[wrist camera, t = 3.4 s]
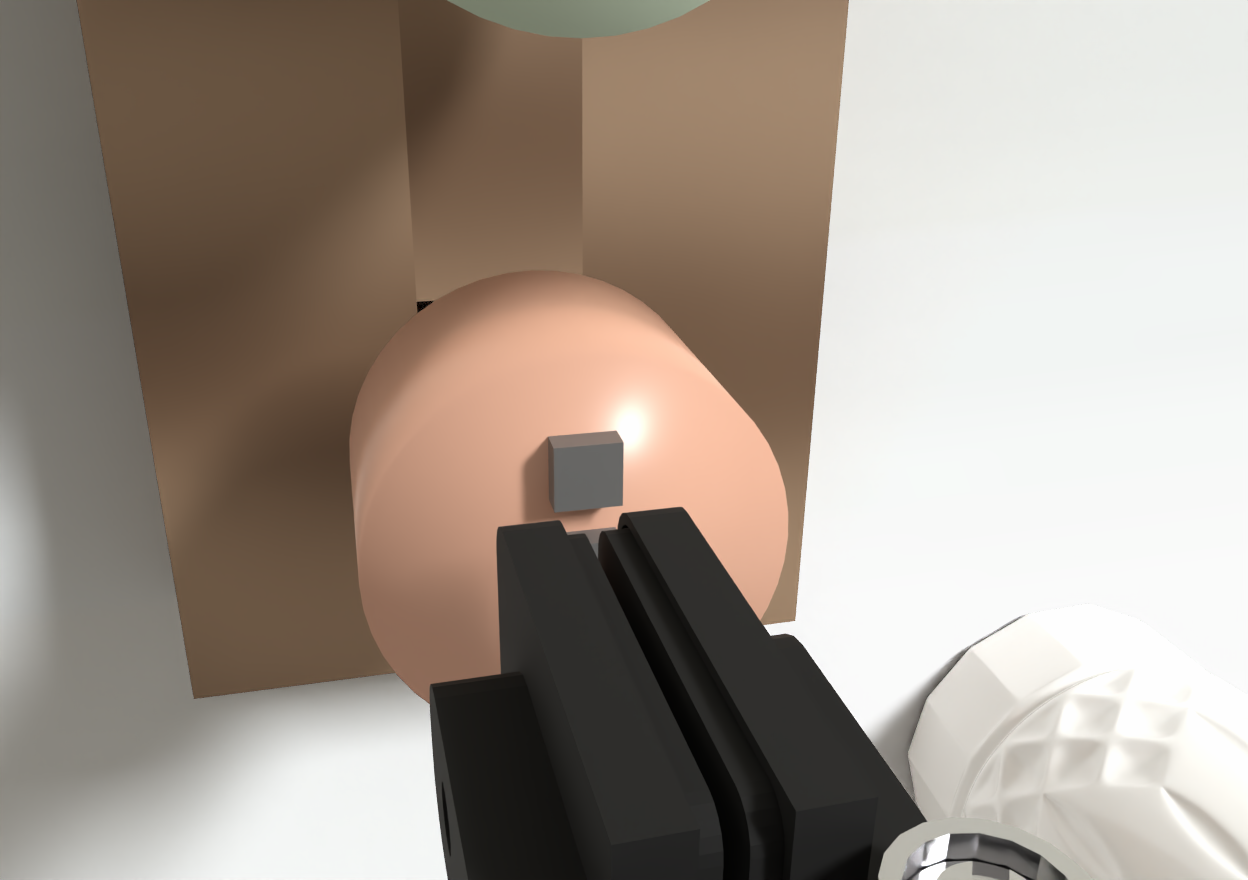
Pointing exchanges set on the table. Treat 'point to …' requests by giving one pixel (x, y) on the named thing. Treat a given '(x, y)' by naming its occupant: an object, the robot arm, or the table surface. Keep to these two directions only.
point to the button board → (430, 250)
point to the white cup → (1092, 747)
